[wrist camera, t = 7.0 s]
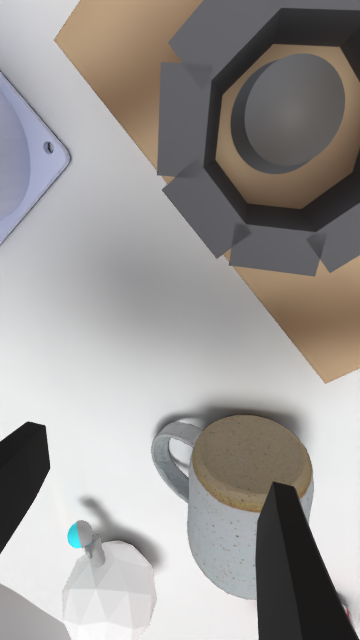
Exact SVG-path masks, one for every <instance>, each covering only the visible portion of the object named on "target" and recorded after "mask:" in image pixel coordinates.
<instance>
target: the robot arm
mask: <svg viewBox="0 0 360 640" xmlns="http://www.w3.org/2000/svg"><path fill="white" fill-rule="evenodd" d="M49 142H50V143H52V145H53V147H54V151H53V153H51V152H49V150H48V143H49ZM69 159H70V157H69V153H68V151H67V149H66V148H65V147H64V146H63V145H62V143H61V142H60V141H59V140H58V139H57V138H56V136H55V135H54V134H53V133H52V132H51V131H50V129H49V128H48V127H47V126H46V125H45V124H44V122H43V121H42V120H41V119H40V118H39V117H38V115H37V114H36V113H35V112H34V111H33V110H32V108H31V107H30V106H29V105H28V104H27V103H26V101H25V100H24V99H23V98H22V97H21V96H20V94H19V93H18V92H17V91H16V90H15V89H14V87H13V86H12V85H11V84H10V83H9V81H8V80H7V79H6V78H5V77H4V76H3V74H2V73H1V72H0V244H1V243H2V242H3V241H4V240H5V238H6V237H7V236H8V235H9V234H10V232H11V231H12V230H13V229H14V228H15V227H16V225H17V224H18V223H19V222H20V221H21V219H22V218H23V217H24V216H25V215H26V214H27V212H28V211H29V210H30V209H31V208H32V206H33V205H34V204H35V203H36V202H37V201H38V199H39V198H40V197H41V196H42V195H43V193H44V192H45V191H46V190H47V189H48V188H49V186H50V185H51V184H52V183H53V182H54V180H55V179H56V178H57V177H58V176H59V175H60V173H61V172H62V171H63V170H64V169H65V168H66V166H67V165H68V163H69ZM49 470H50V460H49V451H48V443H47V434H46V426H45V425H41V424H37V423H33V422H26V423H25V424H23V425H22V426H21V427H19V428H18V429H16V430H15V431H14V432H12V433H11V434H10V435H8V436H7V437H6V438H4V439H3V440H2V441H0V554H1V552H2V550H3V549H4V547H5V546H6V544H7V543H8V541H9V539H10V538H11V536H12V535H13V533H14V532H15V530H16V529H17V527H18V525H19V524H20V522H21V521H22V519H23V517H24V516H25V514H26V513H27V511H28V510H29V508H30V506H31V505H32V503H33V501H34V500H35V498H36V496H37V494H38V492H39V490H40V488H41V486H42V484H43V482H44V480H45V478H46V476H47V474H48V472H49ZM255 567H256V591H257V612H258V634H259V640H359V638H358V636H357V634H356V632H355V630H354V628H353V626H352V624H351V622H350V620H349V618H348V615H347V613H346V611H345V609H344V607H343V605H342V603H341V601H340V598H339V596H338V594H337V592H336V590H335V587H334V585H333V583H332V581H331V578H330V576H329V574H328V571H327V569H326V567H325V564H324V562H323V560H322V557H321V555H320V553H319V550H318V548H317V545H316V543H315V540H314V538H313V535H312V532H311V530H310V527H309V525H308V522H307V519H306V516H305V514H304V511H303V508H302V505H301V502H300V499H299V496H298V493H297V490H296V489H295V487H294V486H290V485H286V484H282V483H278V482H274V481H273V482H272V484H271V487H270V490H269V492H268V495H267V497H266V500H265V502H264V505H263V508H262V510H261V513H260V515H259V518H258V520H257V533H256V554H255Z"/></svg>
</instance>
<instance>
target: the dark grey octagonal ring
mask: <svg viewBox="0 0 360 640" xmlns="http://www.w3.org/2000/svg"><path fill="white" fill-rule="evenodd" d="M168 43H169V45H170V46H171V48H172V49H173V51H174V52H175V53H176V55H177V56H178V58H179V59H180V60H181V62H182V63H170V62H161V72H160V101H159V130H158V160H157V175H161V176H171V177H175V178H174V179H173V180H172V181H171V182H170V183H169V184H168V185H167V186H166V187H164V188H163V189H162V191H163V192H164V193H165V195H166V196H167V197H168V198H169V200H170V201H171V202H172V203H173V205H174V206H175V207H176V208H177V210H178V211H179V212H180V213H181V215H182V216H183V217H184V218H185V220H186V221H187V222H188V223H189V224H190V226H191V227H192V228H193V229H194V231H195V232H196V233H197V234H198V236H199V237H200V238H201V239H202V241H203V242H204V243H205V244H206V246H207V247H208V248H209V249H210V251H211V252H212V253H213V254H214V256H215V257H216V258H219V257H220V256H221V255H223V254H224V253H225V252H227V251H228V250H230V249H231V253H230V260H229V265H230V266H238V267H245V268H253V269H261V270H268V271H276V272H283V273H291V274H299V275H306V276H314V277H315V275H316V272H317V268H318V265H319V261H320V260H321V261H322V263H323V264H324V266H325V267H326V269H327V270H328V271H329V273H331V272H333V271H335V270H336V269H338V268H340V267H341V266H343V265H345V264H346V263H348V262H350V261H351V260H353V259H354V258H356V257H358V256H359V255H360V148H359V152H358V155H357V159H356V162H355V165H354V169H353V172H352V173H351V174H349V175H348V176H346V177H345V178H344V179H342V180H341V181H339V182H338V183H337V184H335V185H334V186H333V187H331V188H330V189H328V190H327V191H326V192H324V193H323V194H322V195H320V196H319V197H317V198H316V199H315V200H313V201H312V202H310V203H309V204H308V205H306V206H305V207H304V208H302V209H294V208H285V207H276V206H266V205H257V204H248V203H247V202H246V201H245V199H244V198H243V197H242V195H241V194H240V192H239V191H238V190H237V188H236V187H235V186H234V184H233V183H232V181H231V180H230V179H229V177H228V176H227V175H226V173H225V172H224V171H223V169H222V168H221V166H220V165H219V164H218V162H217V161H216V160H215V159H216V150H217V141H218V132H219V123H220V114H221V105H222V96H223V94H224V93H225V92H226V91H227V90H228V89H229V88H230V87H231V86H232V85H233V84H234V83H235V82H236V81H237V80H238V79H239V78H240V77H241V76H242V75H243V74H244V73H245V72H246V71H247V70H248V69H249V68H250V67H251V66H252V65H253V64H254V63H255V62H256V61H257V60H258V59H259V58H260V57H261V56H262V55H263V54H264V53H265V52H266V51H267V50H268V49H269V48H270V47H271V46H272V45H273V44H285V45H307V46H329V47H340V48H341V50H342V52H343V54H344V55H345V57H346V59H347V61H348V63H349V64H350V66H351V68H352V70H353V71H354V73H355V75H356V77H357V78H358V80H359V82H360V0H203V1H202V3H201V4H200V5H199V6H198V7H197V9H196V10H195V11H194V12H193V13H192V15H191V16H190V17H189V18H188V19H187V20H186V22H185V23H184V24H183V25H182V26H181V28H180V29H179V30H178V31H177V32H176V34H175V35H174V36H173V37H172V38H171V40H170V41H169V42H168Z"/></svg>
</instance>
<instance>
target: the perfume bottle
mask: <svg viewBox="0 0 360 640" xmlns="http://www.w3.org/2000/svg"><path fill="white" fill-rule="evenodd" d="M68 542H69V544H70V545H71V546H72V547H74V548H81V547H82V548H83V547H85V551H86V554H85V555H83V556H82V557H81V558H79V559H78V560H77V562H76V564H75V566H74V568H73V570H72V572H71V575H70V577H69V579H68V581H67V583H66V585H65V587H64V589H63V621H64V624H65V626H66V628H67V630H68V633H69V635H70V637H71V639H72V640H138V639H139V638H140V637H141V636H142V634H143V633H144V632H145V630H146V629H147V628H148V627H149V625H150V621H151V617H152V614H153V610H154V607H155V603H156V600H157V596H156V589H155V582H154V576H153V569H152V565H151V564H150V563H149V562H148V561H147V560H146V559H145V558H144V557H143V555H142V554H141V553H140V552H139V551H138V550H137V549H136V548H135V547H134V546H133V545H131V544H128V543H125V542H123V541H120V540H115V541H110V542H104V543H102V544H101V537H100V534H97V535H92V528H91V526H90V524H89V523H88V522H86V521H82V520H81V521H77V522H76V523H75V524H73V525H72V526H71V528H70V529H69V532H68Z"/></svg>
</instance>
